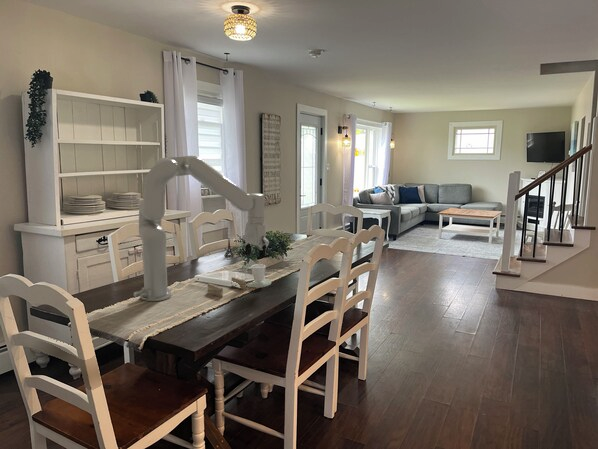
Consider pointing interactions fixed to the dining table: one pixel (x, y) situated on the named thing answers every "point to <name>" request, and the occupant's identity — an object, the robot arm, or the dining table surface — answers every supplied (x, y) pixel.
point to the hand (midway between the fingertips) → (255, 256)
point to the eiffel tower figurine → (230, 252)
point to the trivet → (265, 283)
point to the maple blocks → (219, 290)
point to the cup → (257, 273)
